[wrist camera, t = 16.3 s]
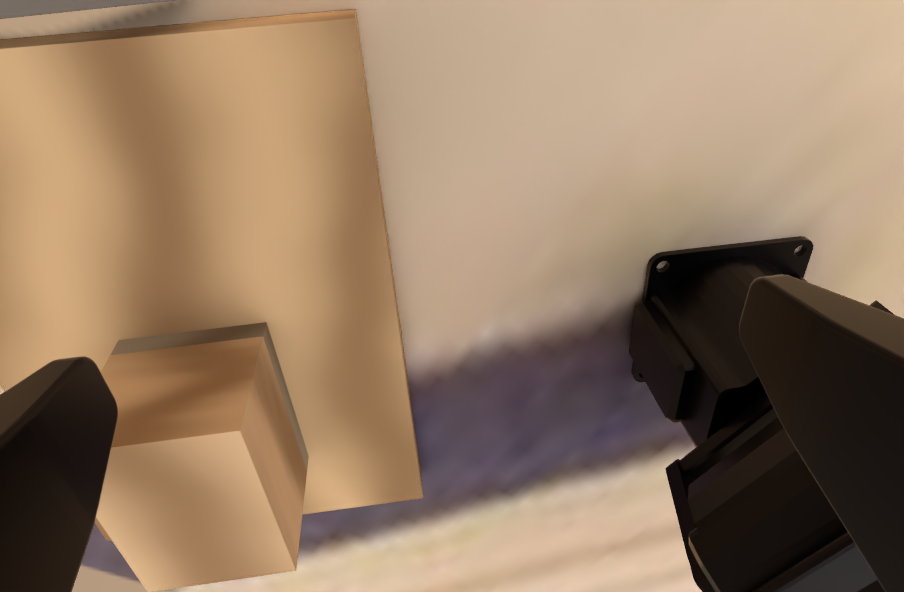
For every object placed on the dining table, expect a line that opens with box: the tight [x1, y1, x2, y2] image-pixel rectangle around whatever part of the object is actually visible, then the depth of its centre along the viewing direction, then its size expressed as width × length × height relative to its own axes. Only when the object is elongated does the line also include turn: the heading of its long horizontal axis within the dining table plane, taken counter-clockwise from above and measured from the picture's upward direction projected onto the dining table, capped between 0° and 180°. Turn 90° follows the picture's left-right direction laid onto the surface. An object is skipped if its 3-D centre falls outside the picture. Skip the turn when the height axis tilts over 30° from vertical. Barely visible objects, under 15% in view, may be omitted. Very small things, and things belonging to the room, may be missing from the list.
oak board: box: [0, 9, 423, 541], centre depth 21 cm, size 14×20×2 cm
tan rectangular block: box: [96, 322, 309, 592], centre depth 20 cm, size 5×7×5 cm
